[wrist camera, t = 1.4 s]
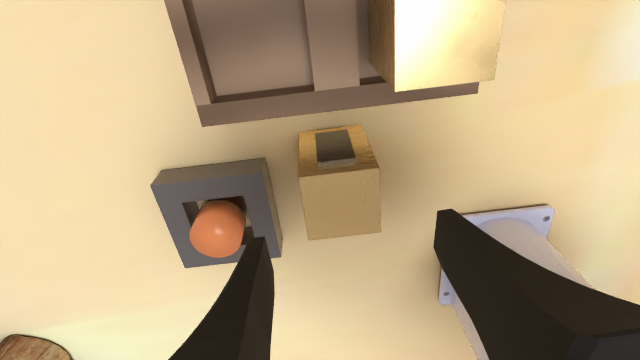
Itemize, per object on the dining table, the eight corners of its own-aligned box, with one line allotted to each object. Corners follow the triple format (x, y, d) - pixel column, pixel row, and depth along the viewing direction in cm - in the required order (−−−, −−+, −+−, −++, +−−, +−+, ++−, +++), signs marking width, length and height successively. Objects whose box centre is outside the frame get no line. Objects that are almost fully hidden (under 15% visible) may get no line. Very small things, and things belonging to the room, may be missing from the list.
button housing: (282, 239, 26) (281, 257, 24) (192, 249, 26) (185, 268, 24) (265, 157, 23) (262, 172, 21) (161, 170, 23) (150, 185, 21)
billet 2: (369, 62, 19) (394, 91, 14) (366, -21, 17) (394, -24, 12) (444, 53, 19) (499, 79, 14) (450, -31, 17) (517, -39, 12)
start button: (250, 235, 24) (246, 254, 22) (205, 240, 24) (197, 260, 22) (239, 197, 22) (234, 215, 20) (191, 202, 22) (182, 221, 21)
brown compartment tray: (459, 82, 21) (477, 93, 18) (212, 112, 21) (202, 126, 19) (474, -82, 17) (500, -92, 14) (169, -42, 17) (150, -46, 15)
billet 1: (363, 178, 24) (381, 231, 19) (307, 184, 24) (308, 240, 19) (360, 121, 22) (379, 164, 16) (298, 129, 22) (297, 174, 17)
